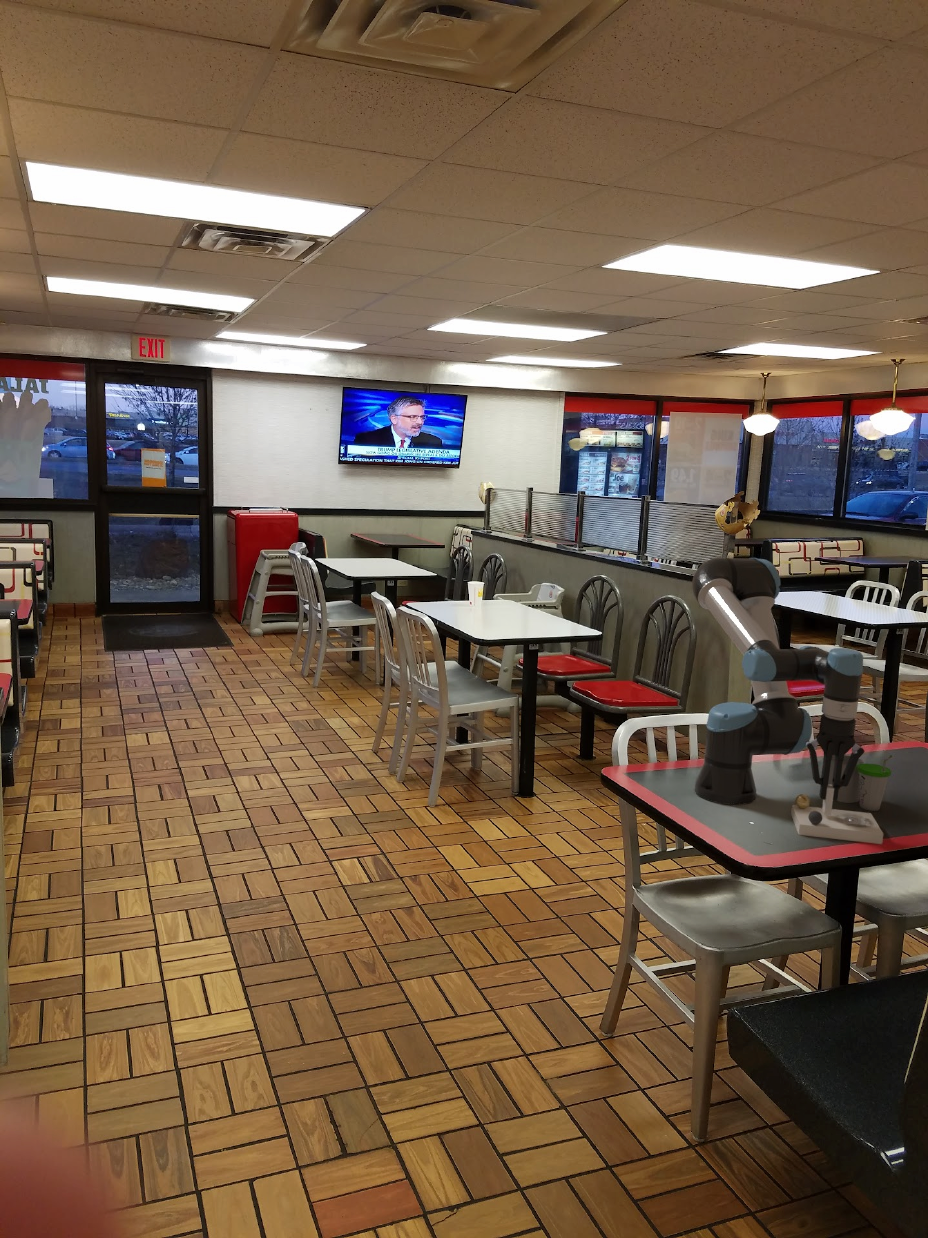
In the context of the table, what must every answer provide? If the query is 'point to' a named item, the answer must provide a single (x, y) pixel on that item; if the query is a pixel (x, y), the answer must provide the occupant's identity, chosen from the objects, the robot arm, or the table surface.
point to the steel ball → (853, 821)
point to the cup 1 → (852, 790)
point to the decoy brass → (802, 801)
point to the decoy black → (815, 817)
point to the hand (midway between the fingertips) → (826, 812)
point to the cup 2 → (872, 784)
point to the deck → (838, 825)
